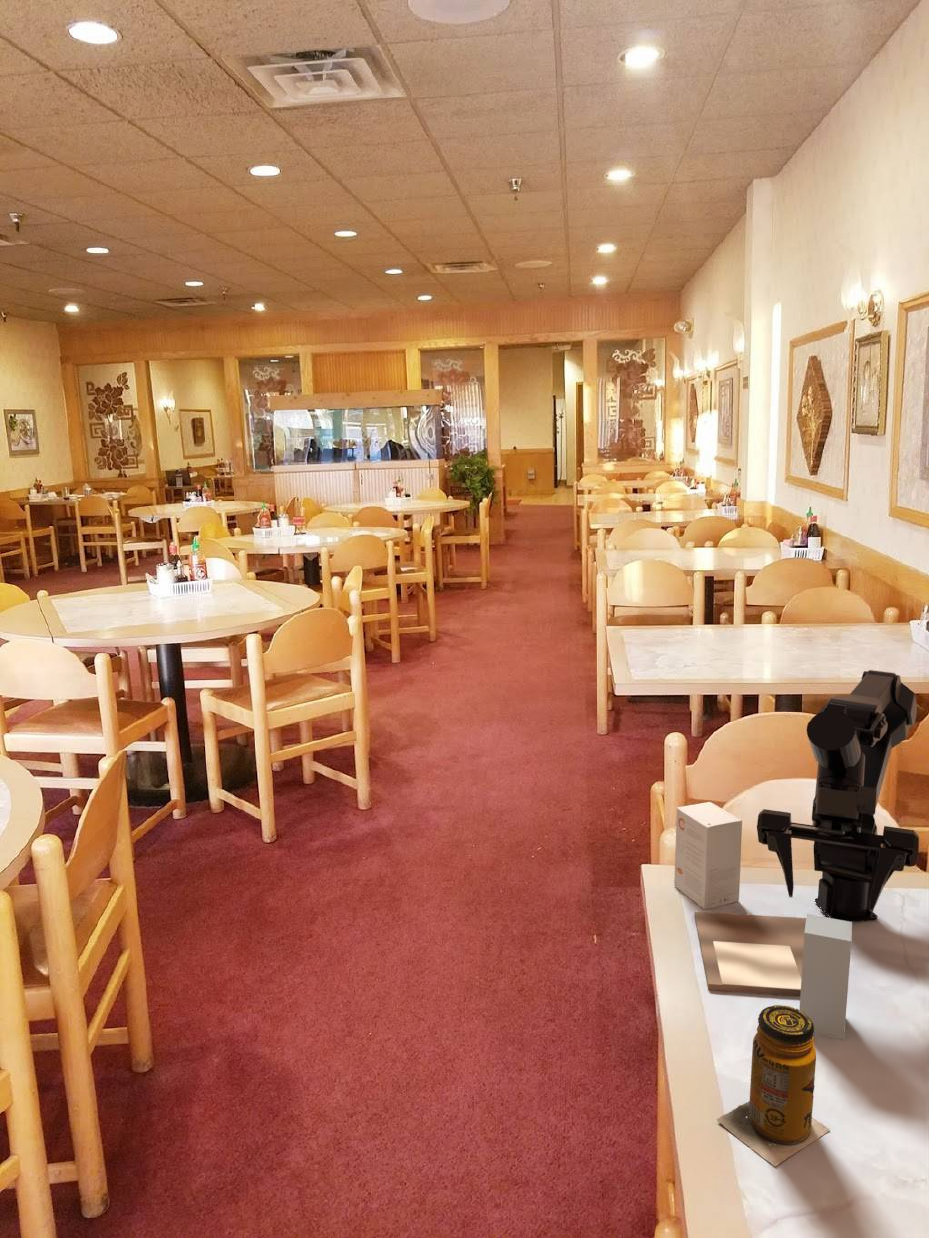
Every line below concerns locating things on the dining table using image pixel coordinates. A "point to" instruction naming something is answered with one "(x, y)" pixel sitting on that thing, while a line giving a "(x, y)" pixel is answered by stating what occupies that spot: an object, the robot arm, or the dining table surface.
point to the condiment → (779, 1087)
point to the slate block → (826, 974)
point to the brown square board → (751, 952)
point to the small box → (708, 854)
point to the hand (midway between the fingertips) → (830, 903)
